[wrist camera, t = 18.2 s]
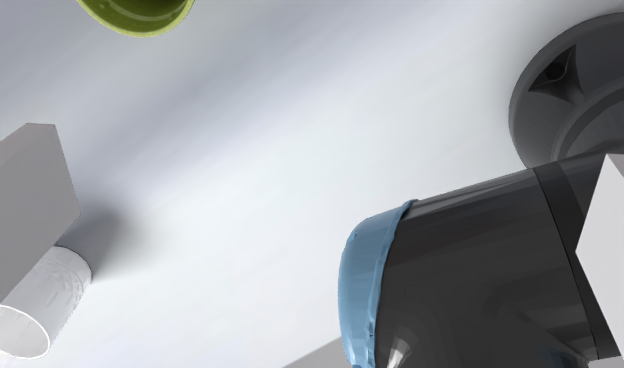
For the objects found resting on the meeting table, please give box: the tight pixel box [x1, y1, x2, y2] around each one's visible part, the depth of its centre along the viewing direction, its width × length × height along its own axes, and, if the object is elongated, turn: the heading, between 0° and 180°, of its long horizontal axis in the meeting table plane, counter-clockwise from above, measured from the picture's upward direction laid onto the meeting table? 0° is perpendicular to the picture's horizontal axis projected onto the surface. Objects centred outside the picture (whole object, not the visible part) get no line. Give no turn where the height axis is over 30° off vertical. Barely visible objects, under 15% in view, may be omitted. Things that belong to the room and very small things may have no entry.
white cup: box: [0, 246, 92, 359], centre depth 58 cm, size 8×8×10 cm
